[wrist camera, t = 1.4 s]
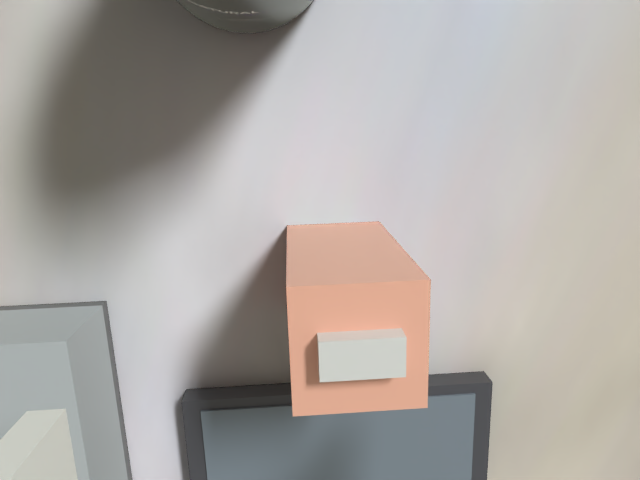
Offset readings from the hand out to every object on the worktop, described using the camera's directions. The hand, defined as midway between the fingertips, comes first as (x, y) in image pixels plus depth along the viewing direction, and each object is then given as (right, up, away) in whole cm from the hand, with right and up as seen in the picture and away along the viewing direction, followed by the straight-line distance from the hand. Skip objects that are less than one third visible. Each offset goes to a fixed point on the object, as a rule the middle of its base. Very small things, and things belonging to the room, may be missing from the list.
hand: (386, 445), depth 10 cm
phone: (-1, -6, +13) cm, 15 cm away
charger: (-1, +3, +11) cm, 12 cm away
